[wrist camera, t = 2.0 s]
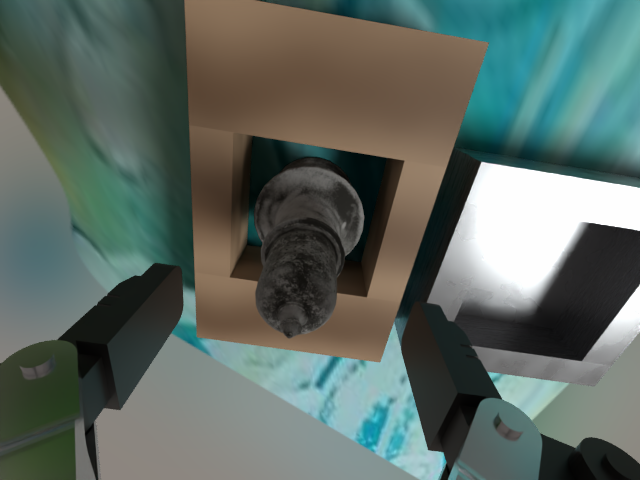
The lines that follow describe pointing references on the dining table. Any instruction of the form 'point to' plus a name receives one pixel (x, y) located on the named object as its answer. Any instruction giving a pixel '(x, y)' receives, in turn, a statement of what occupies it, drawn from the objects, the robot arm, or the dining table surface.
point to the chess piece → (304, 243)
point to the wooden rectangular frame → (324, 131)
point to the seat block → (533, 264)
